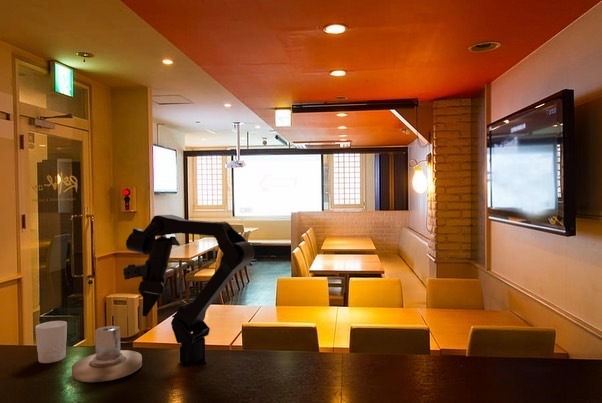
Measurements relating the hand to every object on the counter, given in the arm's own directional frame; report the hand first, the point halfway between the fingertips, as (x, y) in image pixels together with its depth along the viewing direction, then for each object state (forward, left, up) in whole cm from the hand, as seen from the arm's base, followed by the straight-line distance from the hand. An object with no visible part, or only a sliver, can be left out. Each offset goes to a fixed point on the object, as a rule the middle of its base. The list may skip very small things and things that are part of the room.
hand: (145, 312), depth 123 cm
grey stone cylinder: (+9, +4, -11) cm, 15 cm away
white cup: (+26, -12, -14) cm, 31 cm away
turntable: (+10, +4, -13) cm, 17 cm away
